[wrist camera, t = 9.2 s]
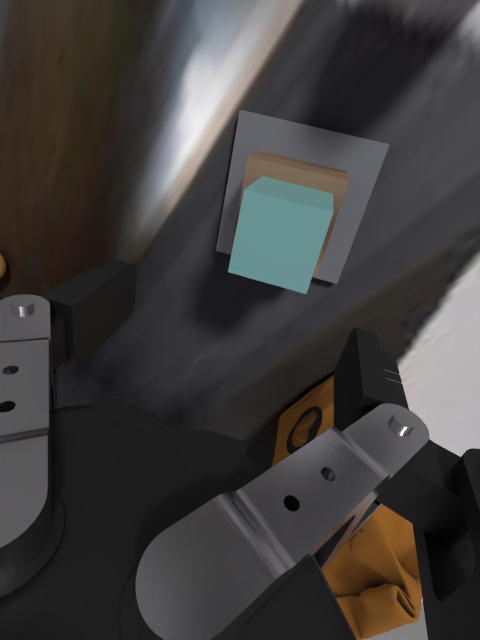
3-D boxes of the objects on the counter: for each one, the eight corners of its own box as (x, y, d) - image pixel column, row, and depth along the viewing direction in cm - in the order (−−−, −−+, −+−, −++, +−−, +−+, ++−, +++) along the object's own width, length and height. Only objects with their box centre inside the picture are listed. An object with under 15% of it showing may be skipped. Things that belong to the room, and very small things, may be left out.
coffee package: (268, 402, 43) (220, 615, 25) (352, 350, 37) (374, 578, 19) (322, 452, 45) (315, 684, 27) (410, 410, 39) (482, 671, 21)
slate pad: (242, 110, 29) (239, 109, 28) (387, 143, 28) (389, 144, 27) (218, 247, 35) (215, 250, 34) (337, 280, 34) (337, 283, 33)
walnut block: (262, 150, 29) (248, 156, 24) (346, 170, 29) (349, 181, 23) (245, 232, 33) (229, 252, 28) (319, 252, 32) (317, 276, 27)
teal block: (262, 175, 25) (244, 189, 19) (333, 193, 24) (333, 212, 19) (247, 244, 27) (227, 272, 22) (311, 261, 27) (306, 294, 22)
